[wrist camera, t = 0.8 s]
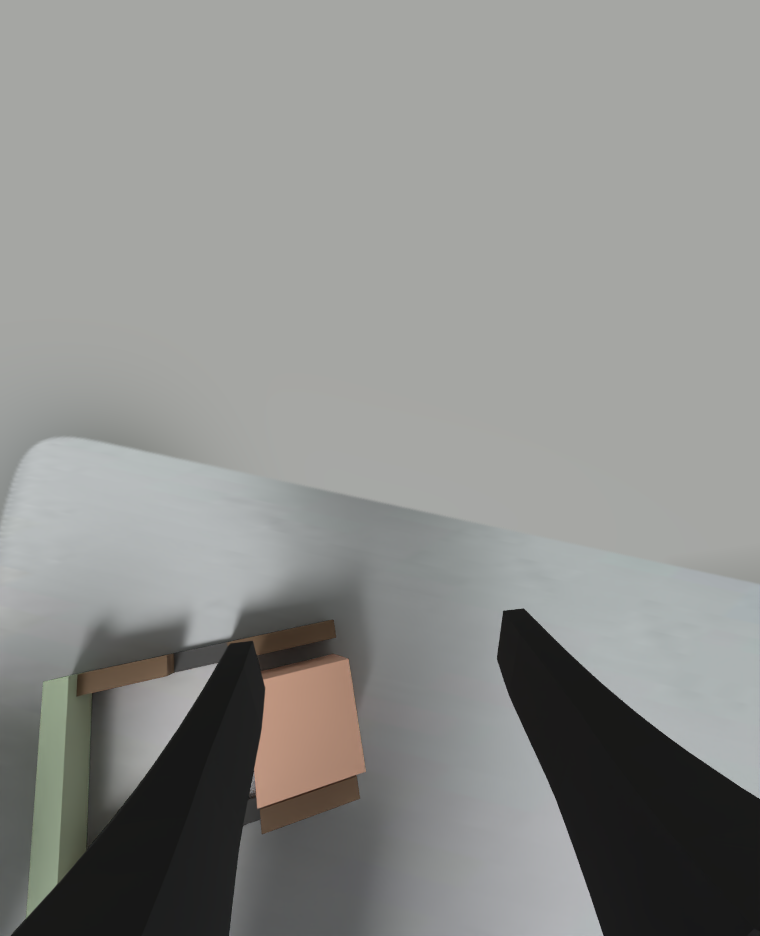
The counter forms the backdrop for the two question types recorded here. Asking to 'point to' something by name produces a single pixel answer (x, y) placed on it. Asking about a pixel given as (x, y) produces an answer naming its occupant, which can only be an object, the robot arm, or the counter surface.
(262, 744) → the terracotta block
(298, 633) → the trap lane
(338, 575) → the counter surface
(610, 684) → the counter surface
